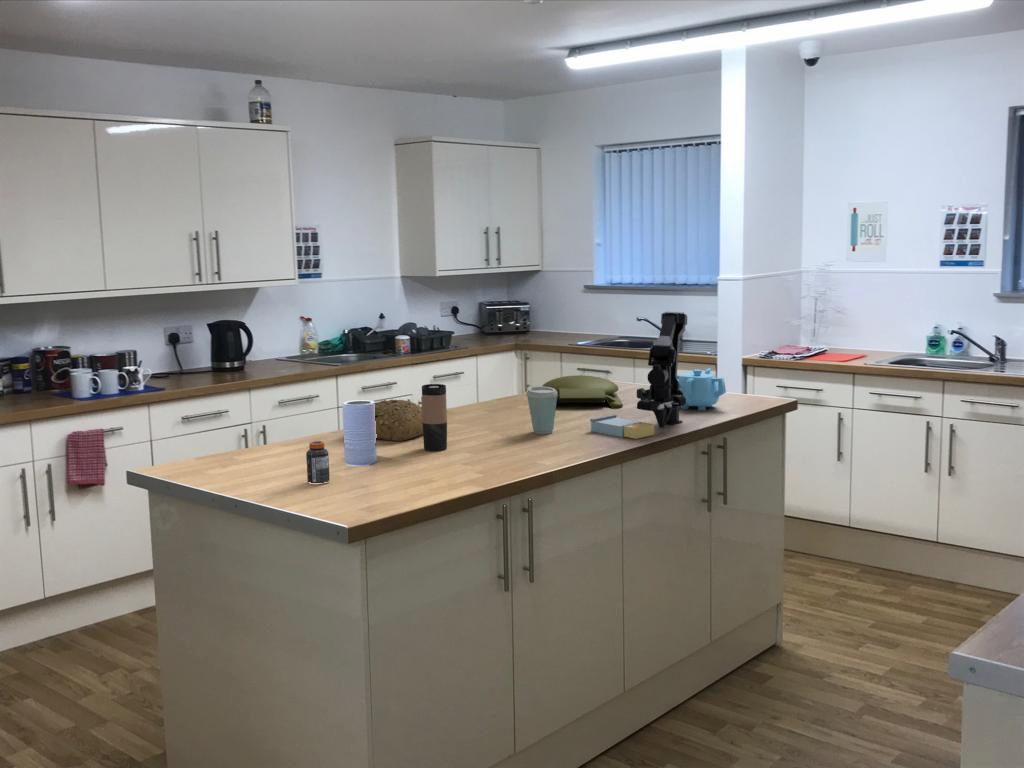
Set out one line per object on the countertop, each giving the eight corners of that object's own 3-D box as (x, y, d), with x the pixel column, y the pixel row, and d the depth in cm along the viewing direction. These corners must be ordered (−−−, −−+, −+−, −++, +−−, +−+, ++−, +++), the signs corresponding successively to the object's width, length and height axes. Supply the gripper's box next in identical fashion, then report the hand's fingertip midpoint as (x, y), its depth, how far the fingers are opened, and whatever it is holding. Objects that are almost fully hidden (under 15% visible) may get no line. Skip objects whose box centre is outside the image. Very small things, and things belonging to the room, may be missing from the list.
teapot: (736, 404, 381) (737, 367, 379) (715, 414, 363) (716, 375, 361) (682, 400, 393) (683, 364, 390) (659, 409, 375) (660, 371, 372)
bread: (439, 431, 339) (438, 397, 337) (407, 444, 320) (406, 407, 318) (378, 426, 349) (377, 392, 347) (343, 438, 330) (342, 403, 328)
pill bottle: (308, 480, 275) (307, 440, 274) (330, 479, 276) (329, 439, 274) (306, 485, 269) (304, 444, 268) (328, 485, 270) (326, 444, 268)
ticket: (612, 426, 343) (612, 414, 342) (643, 432, 332) (643, 419, 332) (589, 431, 336) (589, 418, 335) (620, 437, 325) (620, 424, 324)
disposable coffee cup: (564, 431, 335) (564, 387, 333) (543, 437, 327) (543, 392, 325) (541, 427, 342) (540, 384, 340) (519, 432, 335) (519, 388, 332)
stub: (642, 432, 331) (642, 421, 331) (654, 434, 328) (654, 423, 327) (624, 436, 325) (624, 425, 325) (635, 438, 322) (635, 427, 321)
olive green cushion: (623, 409, 377) (623, 384, 375) (541, 410, 377) (541, 384, 375) (614, 394, 411) (614, 370, 410) (540, 395, 411) (539, 371, 410)
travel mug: (451, 447, 314) (450, 384, 311) (441, 452, 307) (440, 388, 304) (429, 445, 317) (427, 383, 314) (419, 450, 310) (417, 387, 307)
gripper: (661, 376, 343) (661, 420, 346) (624, 382, 331) (624, 428, 333) (687, 379, 335) (686, 425, 337) (650, 385, 323) (649, 433, 325)
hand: (661, 427), depth 333 cm, fingers closed
